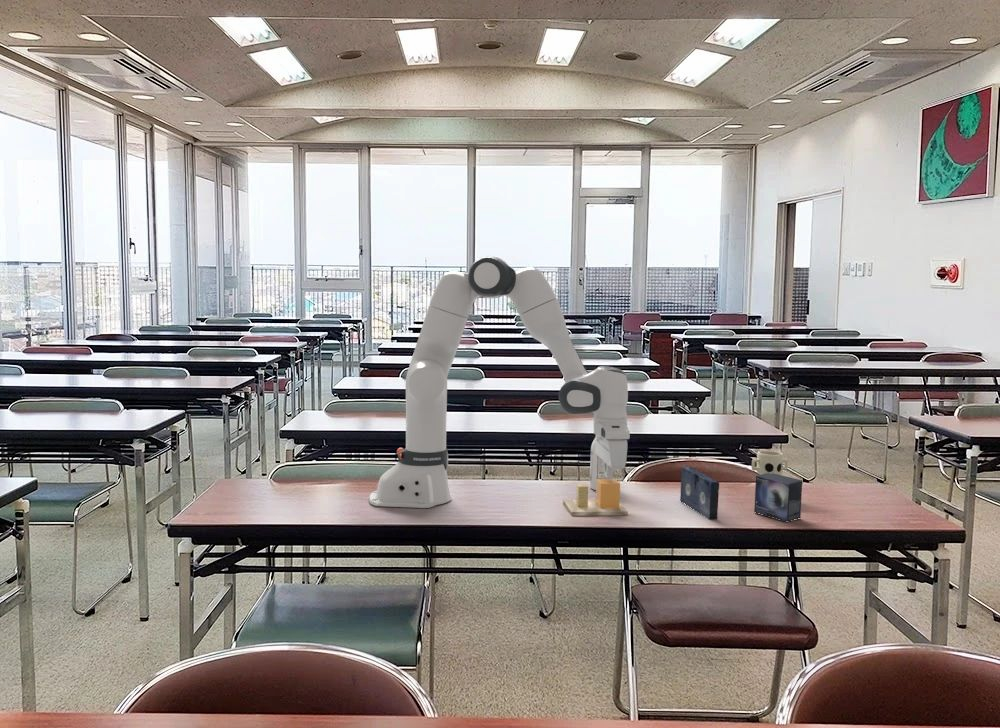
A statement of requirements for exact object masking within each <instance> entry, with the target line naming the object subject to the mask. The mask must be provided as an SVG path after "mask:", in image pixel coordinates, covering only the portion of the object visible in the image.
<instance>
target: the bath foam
mask: <svg viewBox="0 0 1000 728" xmlns="http://www.w3.org/2000/svg"><path fill="white" fill-rule="evenodd" d="M595 439H596V437H594V439H593V441H592V443H591V446H590V468H589V469H590V470H589V488H590V489H591V490H594V491H596V484H597V479H607V478H606V477H605V476H604V472H605V470H604V465H603V460H602V459H601V458H600V457H599V456H598V455H597V454H596V453H595ZM613 479H615V476H614V477H613Z"/></svg>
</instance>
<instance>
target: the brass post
mask: <svg viewBox="0 0 1000 728" xmlns="http://www.w3.org/2000/svg"><path fill="white" fill-rule="evenodd" d="M575 498H576V499H575V500H576V505H577V506H578V507H588V500H589V486H588V484H587V483H585V484H582V483H580V484H578V483H577V484H576V497H575Z"/></svg>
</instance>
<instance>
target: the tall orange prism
mask: <svg viewBox="0 0 1000 728" xmlns="http://www.w3.org/2000/svg"><path fill="white" fill-rule="evenodd" d="M595 495H596V496H595V500H596V504H597V505H598V506H599V507H600V508H619V504H620V503H621V501H620V500H621V499H620V498H621V483H620V482H619V481H618V480H617V479H616V478H614V479H597V484H596V490H595Z"/></svg>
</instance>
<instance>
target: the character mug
mask: <svg viewBox="0 0 1000 728" xmlns="http://www.w3.org/2000/svg"><path fill="white" fill-rule="evenodd" d="M788 466H789V460H788V459H787V458H784V453H783V452H781V451H775V450H768V449H767V450H758V451H757V455H756V458H753V459H752V460H751V470H752V471H756V473H757V475H762V474H766V473H774V474H778V475H782V474H783V472H784V471H786V470H788V468H789V467H788Z"/></svg>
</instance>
